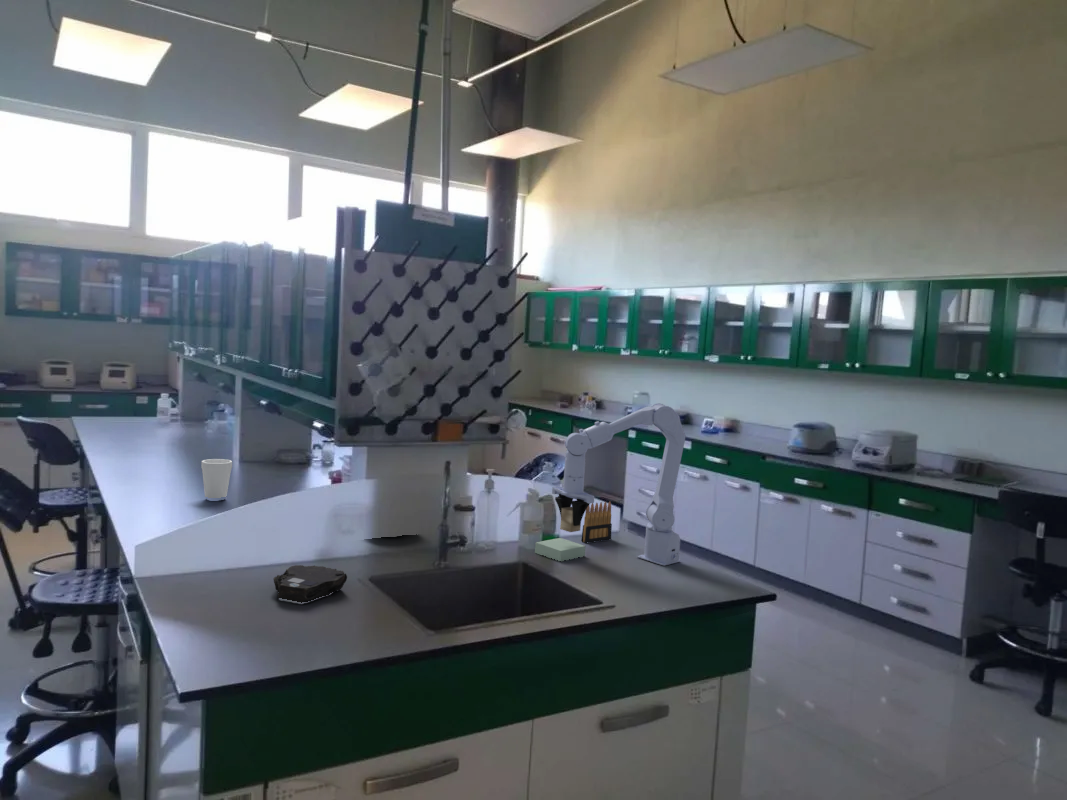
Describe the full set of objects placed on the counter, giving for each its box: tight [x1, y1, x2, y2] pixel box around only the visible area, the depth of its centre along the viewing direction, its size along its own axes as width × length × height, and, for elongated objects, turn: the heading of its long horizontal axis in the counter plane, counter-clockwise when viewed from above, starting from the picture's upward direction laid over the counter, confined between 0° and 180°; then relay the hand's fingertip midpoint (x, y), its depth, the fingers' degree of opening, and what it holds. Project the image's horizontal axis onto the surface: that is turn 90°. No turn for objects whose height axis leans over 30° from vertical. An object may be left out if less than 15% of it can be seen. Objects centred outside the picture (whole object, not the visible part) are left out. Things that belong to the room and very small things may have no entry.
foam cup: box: [200, 458, 233, 498], centre depth 255 cm, size 10×9×13 cm
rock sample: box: [273, 564, 348, 603], centre depth 171 cm, size 18×16×5 cm
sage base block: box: [534, 537, 586, 562], centre depth 215 cm, size 10×10×3 cm
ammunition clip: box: [581, 500, 613, 544], centre depth 233 cm, size 11×2×12 cm, turn 127°
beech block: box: [559, 506, 582, 533], centre depth 215 cm, size 4×4×6 cm
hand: (570, 523), depth 215 cm, fingers closed on beech block, 4 cm apart
